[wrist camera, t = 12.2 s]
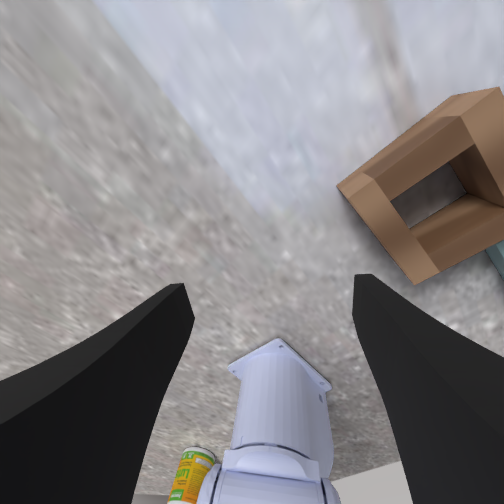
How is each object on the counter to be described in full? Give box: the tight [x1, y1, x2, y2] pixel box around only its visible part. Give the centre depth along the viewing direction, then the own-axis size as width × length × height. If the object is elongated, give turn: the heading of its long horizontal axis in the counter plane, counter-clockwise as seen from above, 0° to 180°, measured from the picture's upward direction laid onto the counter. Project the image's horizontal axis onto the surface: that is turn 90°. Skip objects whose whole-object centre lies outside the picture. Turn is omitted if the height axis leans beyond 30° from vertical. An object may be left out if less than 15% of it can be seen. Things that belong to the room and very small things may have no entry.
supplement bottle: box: [167, 447, 215, 504], centre depth 35 cm, size 5×5×10 cm
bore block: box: [337, 87, 504, 285], centre depth 15 cm, size 8×8×4 cm
